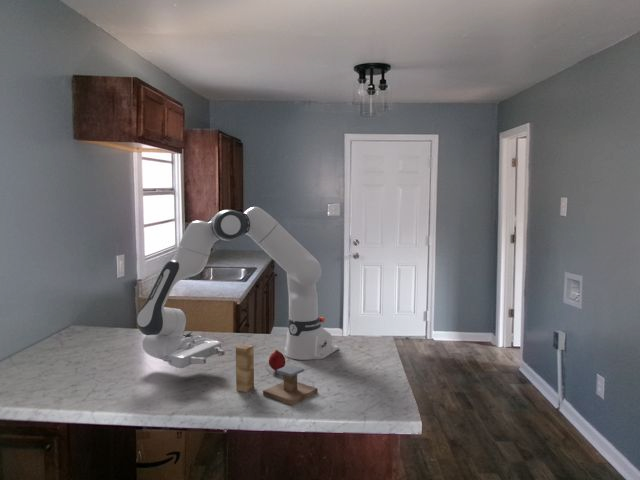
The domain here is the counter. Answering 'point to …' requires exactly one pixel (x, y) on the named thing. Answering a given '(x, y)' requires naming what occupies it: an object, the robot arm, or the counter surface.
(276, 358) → the onion
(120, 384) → the counter surface
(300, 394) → the pedestal
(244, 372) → the wooden rod
